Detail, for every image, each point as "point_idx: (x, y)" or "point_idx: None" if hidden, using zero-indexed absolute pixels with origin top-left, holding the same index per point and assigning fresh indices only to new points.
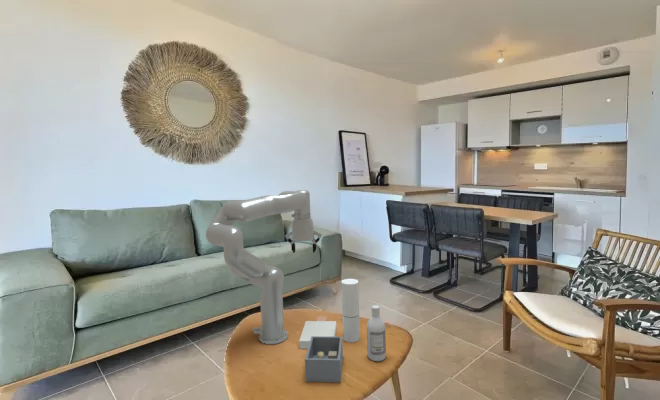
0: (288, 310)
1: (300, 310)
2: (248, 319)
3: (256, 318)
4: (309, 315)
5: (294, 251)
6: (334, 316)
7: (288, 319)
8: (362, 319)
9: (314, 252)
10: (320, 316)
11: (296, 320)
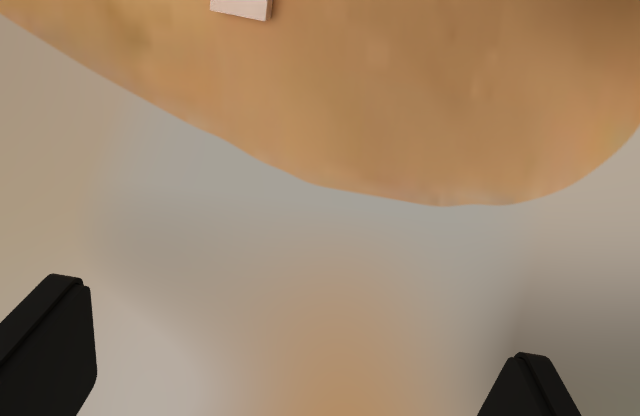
0: (417, 195)
1: (357, 184)
2: (633, 129)
3: (590, 133)
4: (313, 118)
5: (510, 383)
6: (182, 82)
7: (426, 90)
8: (28, 17)
9: (59, 281)
10: (247, 15)
11: (385, 70)
